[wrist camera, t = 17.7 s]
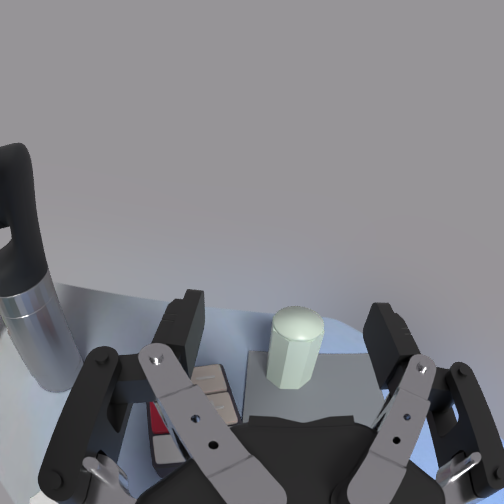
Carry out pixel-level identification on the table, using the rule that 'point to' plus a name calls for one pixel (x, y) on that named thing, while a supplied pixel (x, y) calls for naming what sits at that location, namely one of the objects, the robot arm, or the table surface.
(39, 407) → the table surface
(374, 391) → the mat
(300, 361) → the pale green faceted cylinder
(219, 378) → the calculator
